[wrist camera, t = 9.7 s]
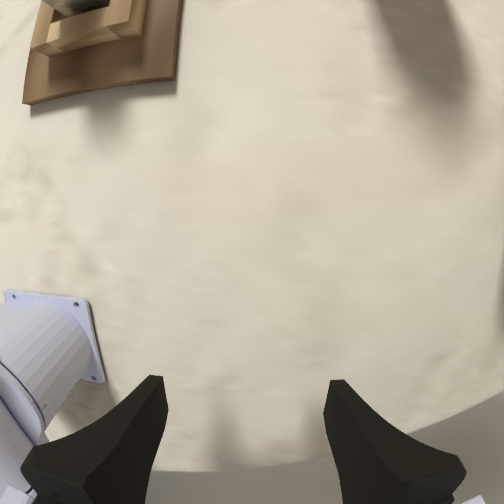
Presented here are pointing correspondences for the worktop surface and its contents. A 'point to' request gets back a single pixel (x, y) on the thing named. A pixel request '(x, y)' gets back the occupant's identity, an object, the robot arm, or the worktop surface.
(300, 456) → the worktop surface
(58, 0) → the brushed grey block
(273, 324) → the worktop surface
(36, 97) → the slot block
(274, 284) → the worktop surface
